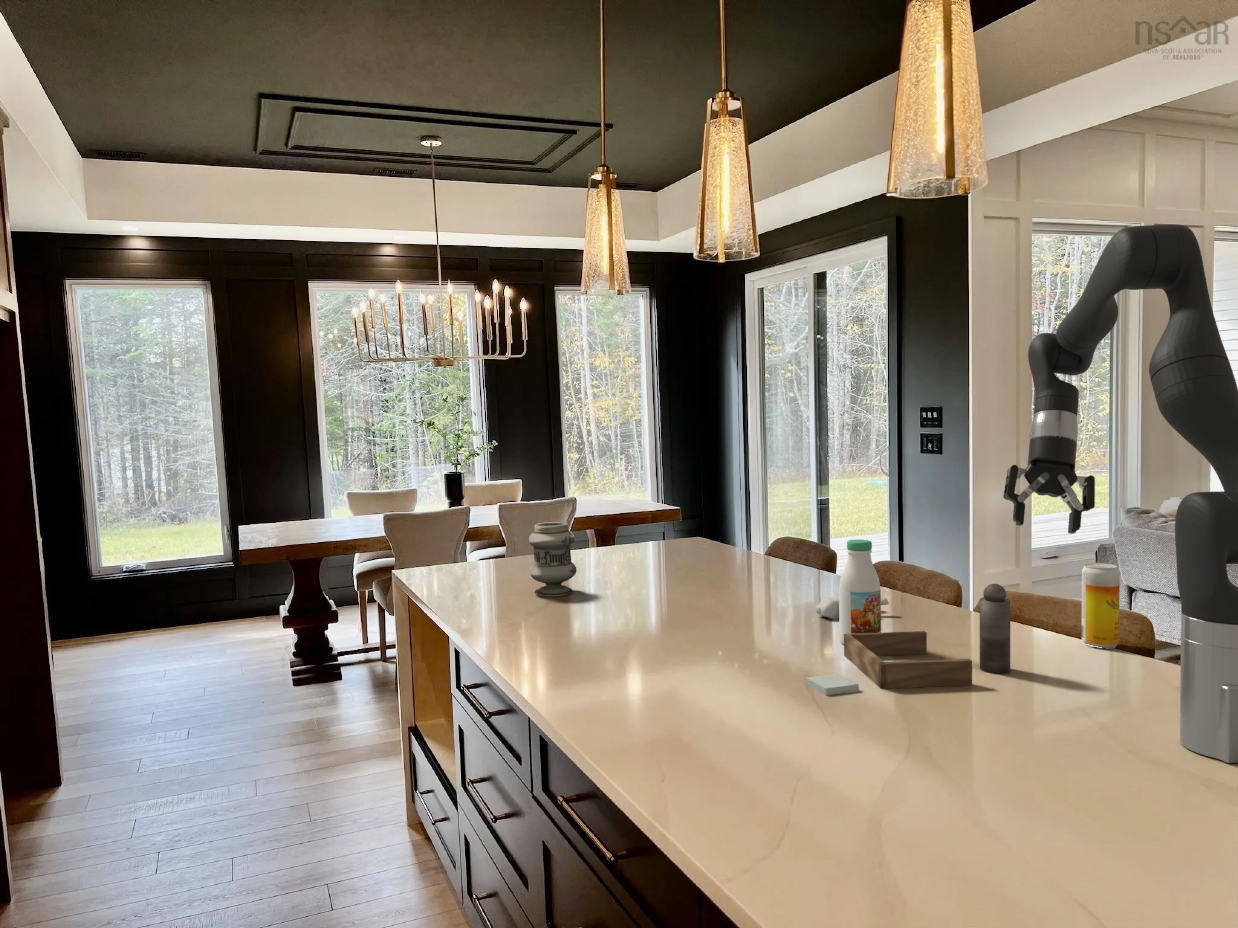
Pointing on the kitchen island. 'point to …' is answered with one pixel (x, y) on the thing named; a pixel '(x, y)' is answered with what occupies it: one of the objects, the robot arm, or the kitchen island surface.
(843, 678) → the ceramic tile
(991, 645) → the pepper mill
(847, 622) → the milk bottle
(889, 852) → the kitchen island surface
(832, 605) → the bunny figurine
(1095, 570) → the beer can
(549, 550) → the apothecary jar
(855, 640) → the box
